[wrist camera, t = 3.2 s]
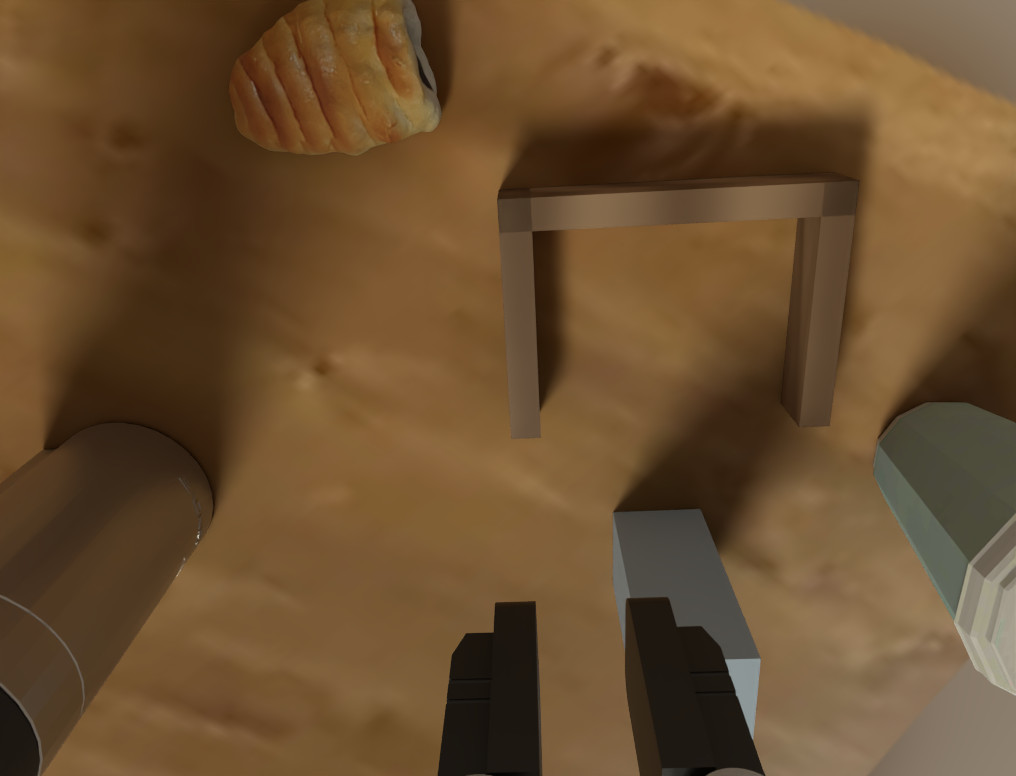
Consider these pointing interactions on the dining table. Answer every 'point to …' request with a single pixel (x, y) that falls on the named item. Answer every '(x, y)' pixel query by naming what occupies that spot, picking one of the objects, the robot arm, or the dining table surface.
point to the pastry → (336, 79)
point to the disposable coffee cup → (960, 519)
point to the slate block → (685, 586)
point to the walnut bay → (808, 197)
